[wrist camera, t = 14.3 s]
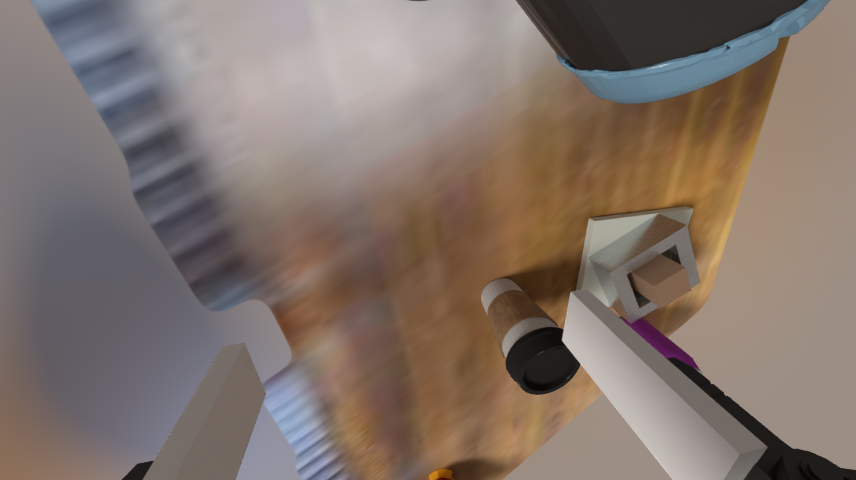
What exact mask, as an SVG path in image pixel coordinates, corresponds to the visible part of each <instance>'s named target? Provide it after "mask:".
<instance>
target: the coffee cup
mask: <svg viewBox="0 0 856 480" xmlns="http://www.w3.org/2000/svg"><path fill="white" fill-rule="evenodd" d="M481 301H482V304H483V306H484V309H485V311H486V313H487V316H488V319H489V322H490V324H491V327H492V329H493V332H494V335H495V337H496V340H497V342H498V345H499V348H500V350H501V353H502V355H503V357H504V358H505V359H506V369H507V371H508V373H509V374H510V376H511V377H512V378H513V380H514V381H516V382H517V383H518V384H519V386H520V387H521V388H522V389H523V390H524V391H526V392H527V393H530V394H535V395H540V394H547V393H550V392H553V391H555V390H557V389H559V388H561V387H562V386H564V385H565V384H566V383H568V382H569V381H570V380H571V379H572V378H573V376H574V375H575V374H576V372H577V371H578V369H579V367H580V363H579V361H578V360H577V359H576V358H575V356H574V355H573V354H572V353H571V351H570V350H569V349H568V348H567V346H566V345H565V344H564V343H563V341H562V337H563V331H564V330H563V329H561V328H558V325H557V324H556V322H555V321H554V320H553V319H552V318H551V317H550V316H548V315H547V314H546V313H545V312H544V311H543V310H542V309H541V308H540V307H539V306H538V305H537V304H536V303H535V302H534V301H533V300H532V299H531V298H530V297H529V296H528V295H527V294H525V293H524V292H523V291H522V290H521V289H520V287H519V286H518V285H517V284H516V283H514V282H513V281H512V280H510V279H506V278H500V279H496V280H494V281H492V282H490V283H489V284H488V285H487V286H486V287H485V288H484V290H483V292H482V295H481Z"/></svg>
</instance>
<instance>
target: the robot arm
mask: <svg viewBox="0 0 856 480" xmlns="http://www.w3.org/2000/svg"><path fill="white" fill-rule="evenodd" d="M411 1H426V0H411ZM516 1H517V3H518V4H519V5H520V6H521V8H522V9H523V10H524V12H525V13H526V14H527V16H528V17H529V18H530V20H531V21H532V22H533V23H534V25H535V26H536V27H537V29H538V30H539V31H540V33H541V34H542V35H543V37H544V38H545V39H546V41H547V42H548V43H549V44H550V46H551V47H552V48H553V50H554V51H555V52H556V56H557V59H558V61H559V62H560V63H561V65H562V66H563V67H565V68H566V69H567V70H569V71H571V72H573V73H574V74H575V75H576V76H577V77H578V78H579V80H580V81H581V82H582V83H583V84H584V85H585V86H586V88H587V89H588V90H589V91H590V92H591V93H592V94H594V95H596V96H597V97H599V98H601V99H608V100H610V101H612V102H617V103H622V104H638V103H648V102H654V101H659V100H664V99H668V98H672V97H675V96H679V95H682V94H685V93H688V92H691V91H694V90H697V89H700V88H703V87H705V86H708V85H710V84H713V83H715V82H717V81H720V80H722V79H724V78H726V77H728V76H730V75H733V74H735V73H737V72H738V71H740V70H742V69H744V68H746V67H748V66H750V65H751V64H753V63H755V62H757V61H758V60H760V59H762V58H763V57H765V56H767V55H768V54H769V53H771V52H772V51H774V50H775V49H776V48H777V45H778V43H779V38H782V37H786V36H790V35H793V34H796V33H798V32H799V31H800V30H802V29H803V28H804V27H805V26H806V25H808V24H809V23H810V22H811V21H812V20H813V19H814V18H815V17H816V16H817V15H818V14H819V13H820V12H821V11H822V9H824V7H825V6H826V5H827V4H828V2H829V1H830V0H516ZM562 341H563V343H564V344H565V345H566V346H567V348H568V349H569V350H570V351H571V353H572V354H573V355H574V356H575V358H576V359H577V360H578V361H579V363H580V364H581V365H582V366H583V368H584V369H585V370H586V371H587V373H588V374H589V375H590V377H591V378H592V379H593V380H594V382H595V383H596V384H597V385H598V387H599V388H600V389H601V390H602V392H603V393H604V394H605V395H606V397H607V398H608V399H609V400H610V402H611V403H612V404H613V405H614V407H615V408H616V409H617V410H618V412H619V413H620V414H621V415H622V417H623V418H624V419H625V421H626V422H627V423H628V424H629V426H630V427H631V428H632V429H633V431H634V432H635V433H636V434H637V436H638V437H639V438H640V439H641V441H642V442H643V443H644V444H645V446H646V447H647V448H648V449H649V451H650V452H651V453H652V454H653V455H654V457H655V458H656V459H657V461H658V462H659V463H660V464H661V466H662V467H663V468H664V469H665V471H666V472H667V473H668V475H669V476H670V477H671V478H672V480H856V470H851V469H844V468H840V467H838V466H837V465H835V464H833V463H832V462H830V461H829V460H827V459H825V458H823V457H821V456H818V455H816V454H814V453H812V452H809V451H804V450H800V449H793V448H791V447H789V446H788V445H787V444H786V443H784V442H783V441H781V440H780V439H779V438H778V437H777V436H775V435H774V434H773V433H772V432H771V431H769V430H768V429H767V428H766V427H765V426H763V425H762V424H761V423H760V422H759V421H757V420H756V419H755V418H754V417H753V416H751V415H750V414H749V413H748V412H747V411H745V410H744V409H743V408H742V407H740V406H739V405H738V404H737V403H736V402H734V401H733V400H732V399H731V398H730V397H728V396H725V395H724V392H722V391H721V390H720V389H718V387H716V386H715V385H714V384H711V383H710V381H709V380H708V379H707V378H705V377H704V376H703V375H702V374H701V373H699V372H698V371H697V370H696V369H695V368H693V367H692V366H690V365H688V364H686V363H684V362H682V361H681V360H679V359H677V358H675V357H671V358H665V357H664V356H663V355H662V354H661V353H659V352H658V351H657V350H656V349H655V348H654V347H653V346H651V345H650V344H649V343H648V342H647V341H646V340H645V339H643V338H642V337H641V336H640V335H639V334H638V333H637V332H635V331H634V330H633V329H632V328H631V327H630V326H629V325H627V324H626V323H625V322H624V321H623V320H622V319H621V318H619V317H618V316H617V315H616V314H615V313H614V312H613V311H611V310H610V309H609V308H608V307H607V306H606V305H605V304H603V303H602V302H601V301H600V300H599V299H598V298H597V297H595V296H594V295H593V294H592V293H591V292H590V291H588V290H587V289H585V290H578V291H572V292H570V298H569V303H568V309H567V315H566V320H565V326H564V331H563V337H562ZM265 395H266V393H265V390H264V388H263V386H262V383H261V381H260V378H259V376H258V374H257V371H256V369H255V366H254V364H253V362H252V359H251V357H250V355H249V352H248V350H247V347H246V345H245V343H241V344H235V345H228V346H223V347H222V348H221V350H220V352H219V353H218V355H217V357H216V358H215V360H214V362H213V364H212V365H211V367H210V368H209V370H208V372H207V374H206V375H205V377H204V378H203V380H202V382H201V383H200V385H199V387H198V388H197V390H196V392H195V394H194V395H193V397H192V398H191V400H190V402H189V403H188V405H187V407H186V408H185V410H184V412H183V413H182V415H181V417H180V418H179V420H178V422H177V423H176V425H175V427H174V428H173V430H172V432H171V433H170V435H169V437H168V438H167V440H166V442H165V443H164V445H163V447H162V448H161V450H160V452H159V453H158V455H157V457H156V458H155V460H154V461H149V462H144V463H139V464H137V465H136V466H135V467H134V468H133V469H132V470H131V471H130V472H129V473H128V474H127V475H126V476H125V477H124V478H123V479H122V480H235V479H236V476H237V474H238V471H239V468H240V465H241V462H242V459H243V457H244V454H245V451H246V448H247V445H248V443H249V440H250V437H251V434H252V431H253V429H254V425H255V423H256V420H257V417H258V414H259V412H260V409H261V406H262V403H263V400H264V398H265Z"/></svg>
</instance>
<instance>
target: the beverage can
mask: <svg viewBox="0 0 856 480" xmlns="http://www.w3.org/2000/svg"><path fill="white" fill-rule="evenodd" d="M621 319H622V320H623V321H624V322H625V323H626V324H627V325H629V326H630V327H631V328H632V329H633V330H634V331H635V332H637V333H638V334H639V335H640V336H641V337H642V338H643V339H645V340H646V341H647V342H648V343H649V344H650V345H651V346H653V347H654V348H655V349H656V350H657V351H658V352H659V353H661V354H662V355H663V356H664V357H665V358H671V357H675V358H677V359H679V360H681V361H682V362H684V363H686V364H688V365H690V366H692V367H693V368H695V369H696V370H697V371H698V372H699V373H701V374H702V375H703V373H702V372H701V371H700V369H699V368H698V366H697V365H696V363H695V362H694V360H693V358H691V357H690V356H689V355H688V354H687V353H686V352H684V351H683V350H682V349H681V348H679V347H678V346H677V345H676V344H674V343H673V342H672V341H671V340H669V339H668V338H667V337H666V336H664V335H663V334H662V333H661V332H659V331H658V330H657V329H656V328H654V327H653V326H652V325H651V324H649V323H648V322H647V321H646V320H644V319H643V318H640V319H638V320H636V321H635V322H633V323H631V324H630V323H629V322H628V321H627V320H626V319H625V318H623V317H622V318H621Z"/></svg>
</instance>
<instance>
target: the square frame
mask: <svg viewBox="0 0 856 480" xmlns="http://www.w3.org/2000/svg"><path fill="white" fill-rule="evenodd" d="M660 254H661V255H663V256H665V257H667V258H669V259H671V260H673V261H674V262H676V263H678V264H680V265H682V266H684V267H686V272H687V276H688V280H689V284H690V288H692V287H694V286H695V285H697V284H699V283H700V280H699V275H698V271H697V267H696V262H695V258H694V253H693V249H692V244H691V240H690V235H689V231H688V226H687V225H686V224H683V223H681V222H678V221H676V220H673V219H671V218H668V217H666V216H663V215H661V214H656V215H655V216H653V217H652V218H650V219H648V220H647V221H645V222H644V223H642V224H640V225H639V226H637V227H636V228H634V229H633V230H631V231H629V232H628V233H626V234H625V235H623V236H621V237H620V238H618V239H617V240H615V241H613V242H612V243H610V244H609V245H607V246H606V247H604V248H602V249H601V250H599V251H598V252H596V253H594V254H593V255H591V256H590V257H588V258H589V260H590V263H591V265H592V267H593V269H594V271H595V274H596V276H597V278H598V280H599V283H600V285H601V287H602V289H603V292H604V294H605V296H606V298H607V301H608V303H609V305H610V306H611V307H612V308H613V309H614V310H615V311H616V312H618V313H619V314H620V315H621V316H622V317H623V318H625V319H626V320H627V321H628V322H629V323H630V324H631V323H633V322H635V321H636V320H638V319H640V318H641V317H643V316H645V315H646V314H648V313H650V312H651V311H653V310H655V309H656V308H658V306H657V305H656V304H654V303H653V302H651V301H650V300H649V299H647V298H646V297H645V296H643V295H642V294H640V293H639V292H638V291H636V290H635V289H633V288H632V287H631V285H630V282H629V280H628V277H627V274H629V273H630V272H632V271H633V270H635V269H637V268H638V267H640V266H642V265H643V264H645V263H647V262H648V261H650V260H651V259H653V258H655V257H656V256H658V255H660Z"/></svg>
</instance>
